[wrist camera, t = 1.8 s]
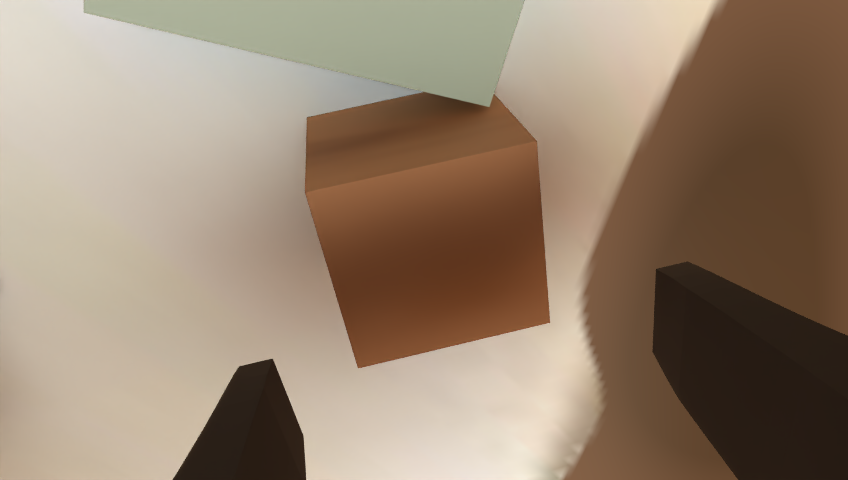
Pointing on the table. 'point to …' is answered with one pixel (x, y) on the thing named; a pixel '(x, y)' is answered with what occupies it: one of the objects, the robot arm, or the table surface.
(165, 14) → the sage green box
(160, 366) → the table surface
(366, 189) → the walnut cube
